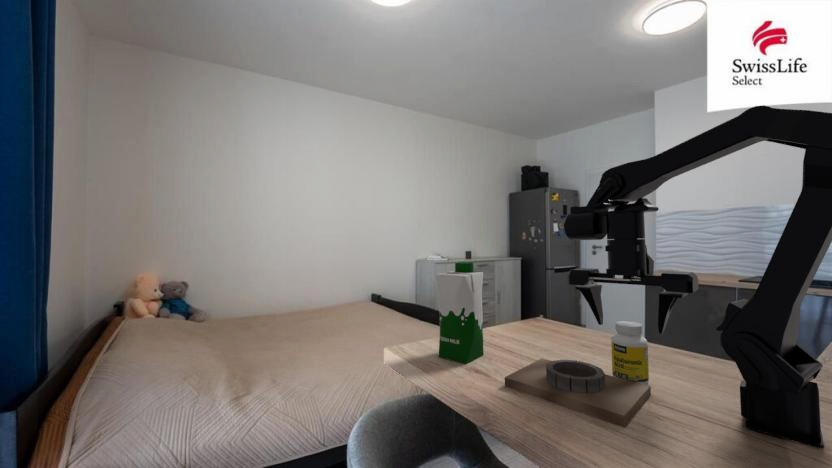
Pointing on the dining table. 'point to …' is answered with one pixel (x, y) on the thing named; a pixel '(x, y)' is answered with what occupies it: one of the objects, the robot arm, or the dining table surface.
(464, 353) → the milk carton
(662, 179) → the robot arm
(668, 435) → the dining table surface
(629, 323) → the supplement bottle
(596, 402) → the socket board
